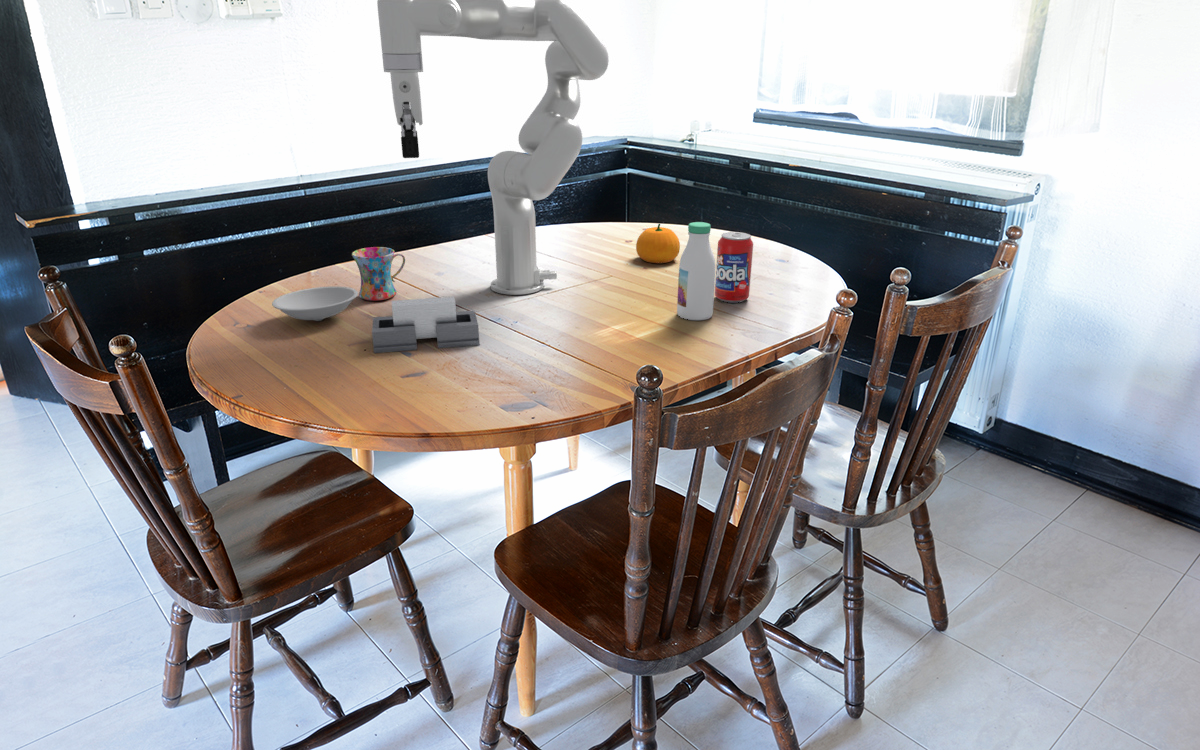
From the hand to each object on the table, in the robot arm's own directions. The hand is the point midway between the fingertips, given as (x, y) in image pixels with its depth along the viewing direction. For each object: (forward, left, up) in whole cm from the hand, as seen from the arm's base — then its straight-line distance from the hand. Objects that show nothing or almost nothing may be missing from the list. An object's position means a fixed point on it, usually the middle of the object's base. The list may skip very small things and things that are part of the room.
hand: (410, 154), depth 161 cm
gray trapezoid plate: (0, +19, -32) cm, 37 cm away
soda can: (-69, +7, -34) cm, 77 cm away
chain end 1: (+6, +19, -33) cm, 39 cm away
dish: (+22, +2, -34) cm, 40 cm away
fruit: (-62, -29, -34) cm, 76 cm away
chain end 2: (-6, +19, -33) cm, 39 cm away
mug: (+9, -12, -34) cm, 37 cm away
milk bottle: (-57, +16, -34) cm, 68 cm away
